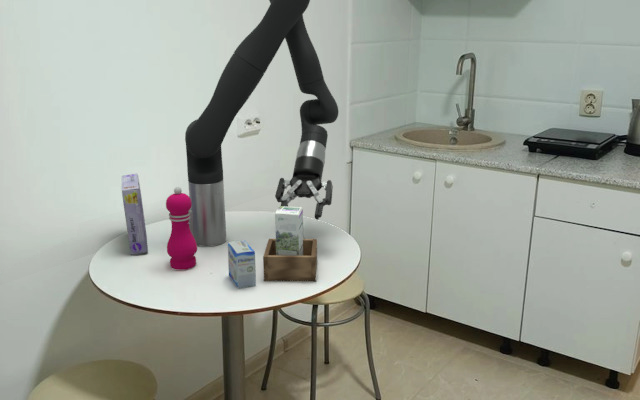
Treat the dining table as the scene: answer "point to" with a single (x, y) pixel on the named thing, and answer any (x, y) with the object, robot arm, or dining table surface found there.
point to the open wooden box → (290, 263)
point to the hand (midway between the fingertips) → (300, 217)
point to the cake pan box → (134, 214)
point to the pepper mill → (180, 232)
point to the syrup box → (289, 231)
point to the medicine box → (241, 264)
